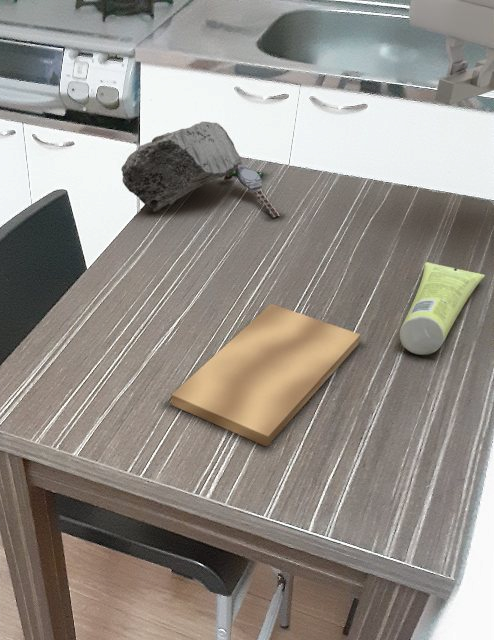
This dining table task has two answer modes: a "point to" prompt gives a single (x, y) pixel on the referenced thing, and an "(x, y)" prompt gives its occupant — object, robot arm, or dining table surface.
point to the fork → (461, 86)
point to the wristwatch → (253, 185)
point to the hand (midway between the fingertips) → (467, 81)
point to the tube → (436, 307)
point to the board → (266, 373)
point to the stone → (179, 163)
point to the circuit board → (257, 173)
